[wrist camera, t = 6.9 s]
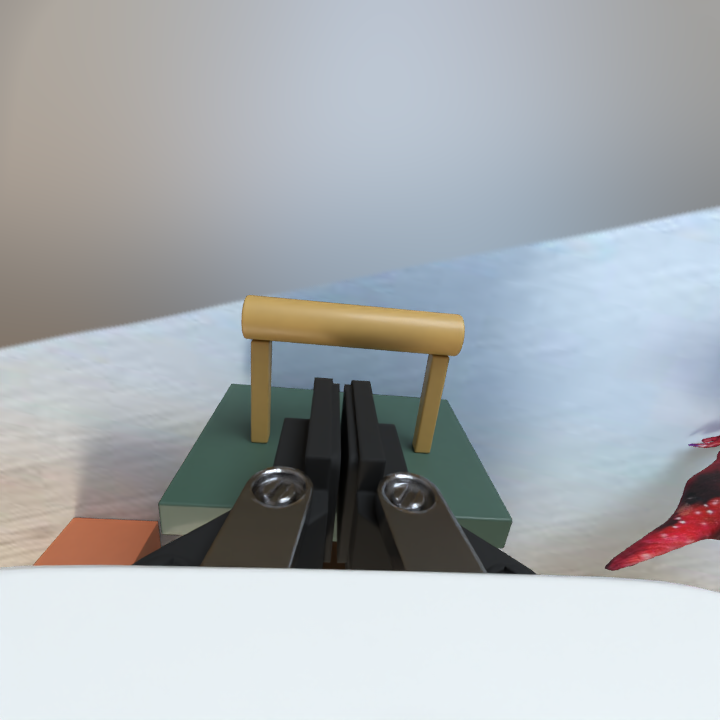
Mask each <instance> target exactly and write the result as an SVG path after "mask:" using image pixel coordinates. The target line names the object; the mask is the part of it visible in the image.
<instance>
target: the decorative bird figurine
mask: <svg viewBox="0 0 720 720" xmlns="http://www.w3.org/2000/svg"><path fill="white" fill-rule="evenodd" d="M710 441H714V442H710ZM702 442H704V443H705V444H689V446H694V447H703V448H709V447H716V446H719V445H720V436H717V437H711V438H706V439H702ZM707 442H710V443H707ZM704 539H716V540H720V451H719V452H718V454H717V460H715V461H714V462H713V463H712V464H711V465H710V466H708V467H707V468H705V469H704V470H702V471H700V472H699V473H697V474H695V475H694V476H693V477H691V478H690V479H689V480H688V481H687V483H686V485H685V488H684V492H683V495H682V497H681V500H680V503H679V505H678V507H677V509H676V511H675V512H674V514H673V515H672V516H671V517H670V518H669V519H668V521H666V522H665V523H664V524H662V525H661V526H659V527H658V528H656V529H655V530H653V531H652V532H650V533H648V534H647V535H646V536H644V537H643V538H642V539H640V540H639V541H637V542H636V543H634V544H633V545H631V546H630V547H628V548H626V549H625V550H624V551H623V552H621V553H620V554H619V555H617V556H616V557H614V558H613V559H612V560H611V561H610V562H609V563H608V564H607V565H606V566H605V569H608V570H612V571H613V570H619V569H621V568H624V567H628V566H633V565H635V564H637V563H639V562H642V561H645V560H648V559H651V558H654V557H655V556H659V555H662V554H665V553H667V552H670V551H672V550H675V549H678V548H681V547H683V546H685V545H688V544H692V543H695V542H697V541H700V540H704Z"/></svg>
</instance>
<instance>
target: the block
mask: <svg viewBox="0 0 720 720" xmlns="http://www.w3.org/2000/svg"><path fill="white" fill-rule="evenodd" d="M159 548H161V543H160V535H159V526H158V521H139V520H116V519H93V518H73V519H72V520H71V522H70V523H69V524H68V525H67V526H66V527H65V529H64V530H63V531H62V532H61V533H60V534H59V536H58V537H57V538H56V539H55V540H54V541H53V543H52V544H51V545H50V546H49V547H48V548H47V550H46V551H45V552H44V553H43V554H42V555H41V557H40V558H39V559H38V560H37V561H36V562H35V564H34V565H33V566H43V565H132V564H134V563H135V562H137V561H138V560H140V559H141V558H143V557H145V556H147V555H148V554H150V553H152V552H154V551H156V550H158V549H159Z"/></svg>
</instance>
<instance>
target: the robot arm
mask: <svg viewBox="0 0 720 720" xmlns="http://www.w3.org/2000/svg"><path fill="white" fill-rule="evenodd" d="M336 505H337V563H345V570H339V569H322V568H323V562H327V563H330V561H331V552H332V543H333V533H334V524H335V514H336ZM0 720H720V592H716V591H712V590H708V589H703V588H699V587H695V586H690V585H685V584H678V583H671V582H664V581H657V580H644V579H629V578H613V577H597V576H563V575H537V574H536V573H534V572H533V571H532V570H530V569H529V568H528V567H526V566H524V565H523V564H521V563H520V562H518V561H517V560H515V559H513V558H512V557H510V556H509V555H507V554H505V553H504V552H502V551H501V550H499V549H498V548H496V547H494V546H493V545H491V544H490V543H488V542H486V541H485V540H483V539H482V538H480V537H479V536H477V535H475V534H474V533H472V532H471V531H469V530H467V529H466V528H464V527H463V526H461V525H460V524H459V523H458V521H457V519H456V518H455V516H454V514H453V513H452V511H451V509H450V507H449V506H448V504H447V502H446V501H445V499H444V497H443V495H442V494H441V492H440V490H439V489H438V488H437V487H436V485H435V484H433V483H432V482H431V481H429V480H428V479H426V478H424V477H422V476H420V475H417V474H413V473H409V472H408V469H407V465H406V462H405V458H404V455H403V451H402V448H401V444H400V440H399V437H398V433H397V430H396V427H395V425H394V424H383V423H378V419H377V414H376V409H375V404H374V399H373V394H372V389H371V384H370V381H356V380H352V382H351V385H347V384H345V386H344V395H343V405H342V415H341V425H340V390H339V384H333V379H328V378H315V380H314V389H313V397H312V405H311V414H310V419H301V418H285V419H284V422H283V426H282V430H281V435H280V439H279V443H278V447H277V451H276V455H275V459H274V464H273V467H269V468H266V469H263V470H261V471H259V472H257V473H256V474H254V475H253V476H251V478H250V479H249V480H248V481H247V483H246V484H245V486H244V488H243V490H242V492H241V493H240V495H239V497H238V499H237V500H236V502H235V504H234V506H233V508H232V509H231V510H230V511H228V512H226V513H224V514H222V515H220V516H219V517H217V518H215V519H213V520H211V521H209V522H207V523H206V524H204V525H202V526H200V527H198V528H196V529H195V530H193V531H191V532H189V533H187V534H185V535H183V536H182V537H180V538H178V539H176V540H174V541H172V542H171V543H169V544H167V545H165V546H163V547H161V548H159V549H158V550H156V551H154V552H152V553H150V554H148V555H147V556H145V557H143V558H141V559H140V560H138V561H137V562H135V563H134V564H132V565H43V566H14V567H1V568H0Z"/></svg>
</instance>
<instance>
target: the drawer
mask: <svg viewBox="0 0 720 720" xmlns="http://www.w3.org/2000/svg"><path fill="white" fill-rule="evenodd" d="M242 333H243V336H244V338H246V339H253V340H252V341H251V385H241V384H231V386H230V387H229V389H228V390H227V392H226V394H225V395H224V397H223V399H222V400H221V402H220V403H219V405H218V407H217V408H216V410H215V412H214V413H213V415H212V417H211V418H210V420H209V421H208V423H207V425H206V426H205V428H204V430H203V431H202V433H201V434H200V436H199V438H198V439H197V441H196V443H195V444H194V446H193V448H192V449H191V451H190V452H189V454H188V456H187V457H186V459H185V461H184V462H183V464H182V465H181V467H180V469H179V470H178V472H177V474H176V475H175V477H174V478H173V480H172V482H171V483H170V485H169V487H168V488H167V490H166V492H165V493H164V495H163V496H162V498H161V500H160V501H159V503H158V505H159V514H160V523H161V532H162V534H165V535H185V534H187V533H189V532H191V531H193V530H195V529H196V528H198V527H200V526H202V525H204V524H206V523H207V522H209V521H211V520H213V519H215V518H217V517H219V516H220V515H222V514H224V513H226V512H228V511H230V510H231V509H232V508H233V506H234V504H235V502H236V500H237V499H238V497H239V495H240V493H241V492H242V490H243V488H244V486H245V484H246V483H247V481H248V480H249V479H250V478H251V476H253V475H254V474H256V473H257V472H259V471H261V470H263V469H266V468H269V467H273V464H274V459H275V455H276V451H277V447H278V443H279V439H280V435H281V430H282V426H283V422H284V419H285V418H301V419H310V414H311V405H312V397H313V390H308V389H295V388H281V387H271V366H272V341H280V342H292V343H304V344H316V345H328V346H340V347H352V348H364V349H375V350H387V351H399V352H411V353H423V354H429V356H428V361H427V367H426V372H425V377H424V383H423V388H422V393H421V398H416V397H403V396H389V395H376V394H373V399H374V404H375V409H376V414H377V419H378V423H383V424H394V425H395V427H396V430H397V433H398V437H399V440H400V444H401V448H402V451H403V455H404V458H405V462H406V465H407V469H408V472H409V473H413V474H417V475H420V476H422V477H424V478H426V479H428V480H429V481H431V482H432V483H433V484H435V485H436V487H437V488H438V489H439V490H440V492H441V494H442V495H443V497H444V499H445V501H446V502H447V504H448V506H449V507H450V509H451V511H452V513H453V514H454V516H455V518H456V519H457V521H458V523H459V524H460V525H461V526H463V527H464V528H466V529H467V530H469V531H471V532H472V533H474V534H475V535H477V536H479V537H480V538H482V539H483V540H485V541H486V542H488V543H490V544H491V545H493V546H494V547H496V548H504V545H505V542H506V539H507V536H508V533H509V530H510V527H511V524H512V518H511V516H510V514H509V513H508V511H507V509H506V507H505V505H504V503H503V502H502V500H501V498H500V496H499V494H498V492H497V491H496V489H495V487H494V485H493V483H492V481H491V480H490V478H489V476H488V474H487V472H486V471H485V469H484V467H483V465H482V463H481V461H480V460H479V458H478V456H477V454H476V452H475V450H474V449H473V447H472V445H471V443H470V441H469V439H468V438H467V436H466V434H465V432H464V430H463V428H462V427H461V425H460V423H459V421H458V419H457V418H456V416H455V414H454V412H453V410H452V408H451V407H450V405H449V403H448V401H447V400H443V399H441V396H442V391H443V387H444V382H445V377H446V372H447V367H448V363H449V357H448V356H456V355H458V354H459V352H460V350H461V348H462V345H463V341H464V333H465V327H464V320H463V318H462V316H461V315H458V314H447V313H436V312H425V311H415V310H404V309H393V308H383V307H372V306H361V305H350V304H340V303H329V302H318V301H308V300H297V299H286V298H276V297H265V296H254V295H248V296H246V298H245V300H244V304H243V309H242ZM343 395H344V392H340V425H341V415H342V405H343ZM322 569H339V570H345V563H337V505H336V514H335V524H334V533H333V543H332V552H331V561H330V563H327V562H323V568H322Z"/></svg>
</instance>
